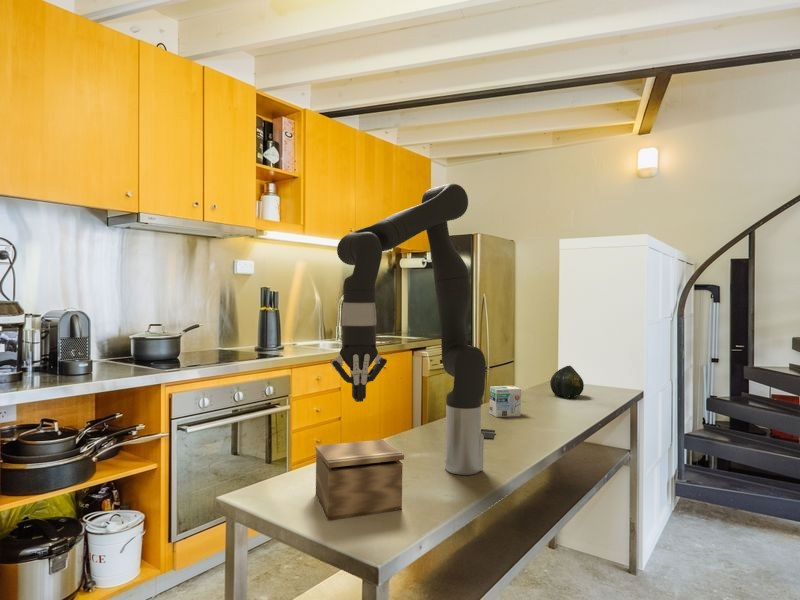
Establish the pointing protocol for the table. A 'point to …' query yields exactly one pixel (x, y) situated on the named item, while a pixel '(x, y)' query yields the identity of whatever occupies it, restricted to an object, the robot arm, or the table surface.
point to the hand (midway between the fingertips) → (358, 400)
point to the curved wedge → (488, 433)
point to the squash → (567, 383)
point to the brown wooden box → (359, 488)
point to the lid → (358, 453)
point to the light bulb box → (505, 401)
